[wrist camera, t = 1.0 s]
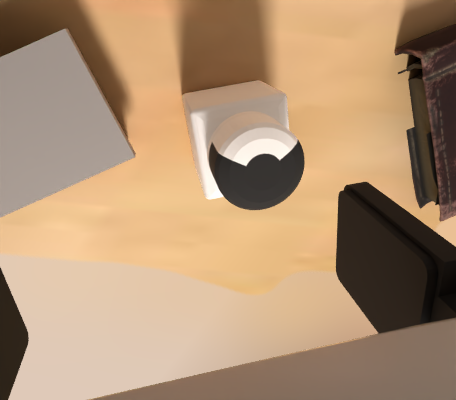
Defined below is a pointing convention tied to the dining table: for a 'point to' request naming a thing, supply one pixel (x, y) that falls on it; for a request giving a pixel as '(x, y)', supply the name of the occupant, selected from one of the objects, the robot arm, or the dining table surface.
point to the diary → (434, 119)
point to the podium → (53, 122)
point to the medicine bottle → (243, 144)
